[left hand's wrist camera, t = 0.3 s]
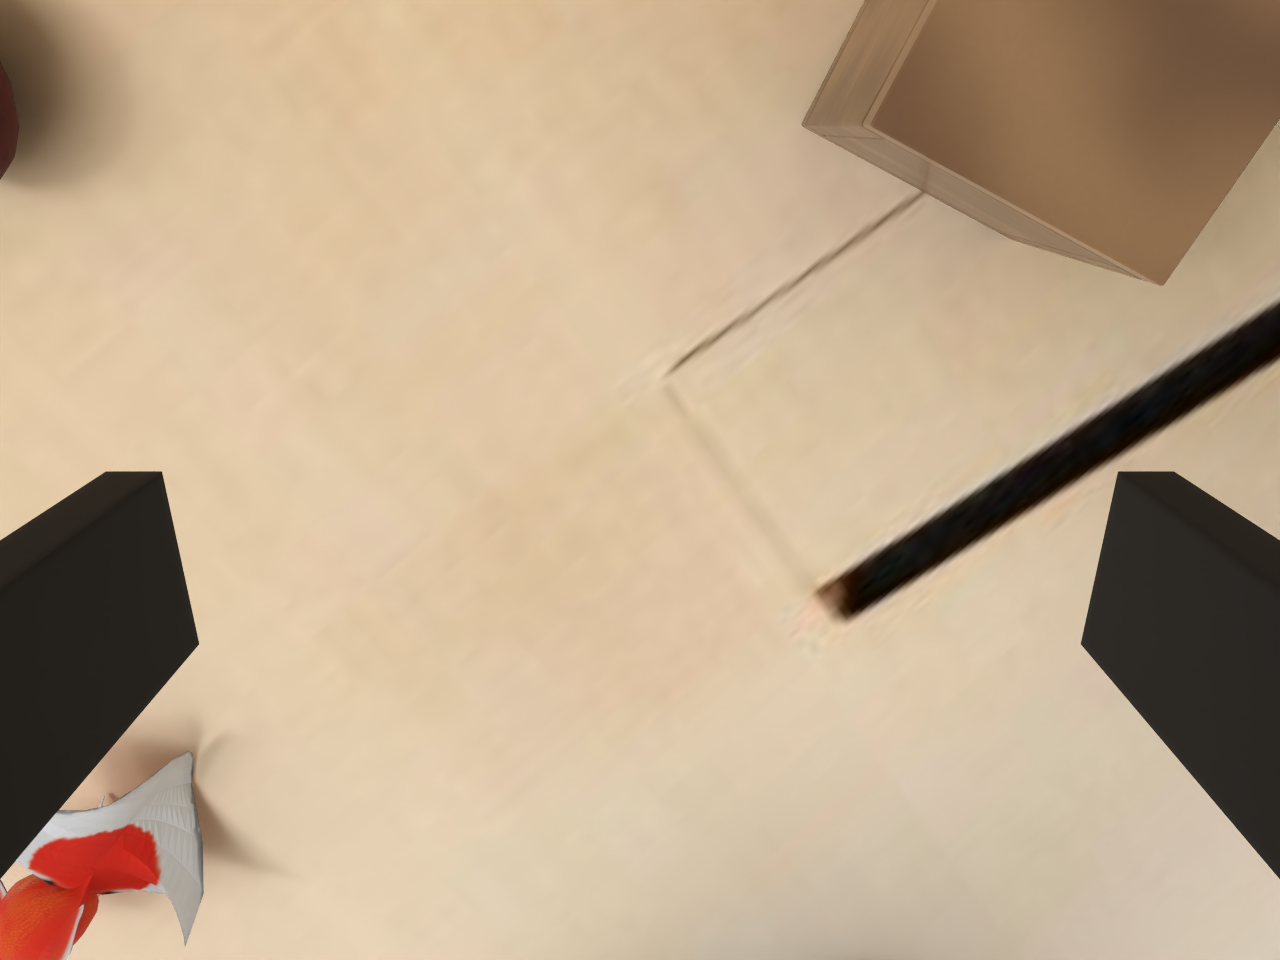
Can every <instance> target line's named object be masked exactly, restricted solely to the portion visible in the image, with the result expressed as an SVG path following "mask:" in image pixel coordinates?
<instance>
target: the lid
mask: <svg viewBox="0 0 1280 960" xmlns="http://www.w3.org/2000/svg"><path fill="white" fill-rule="evenodd" d="M1279 119H1280V0H929V1H928V3H927V5H926V7H925V9H924V11H923V12H922V14H921V16H920V18H919V20H918V22H917V24H916V25H915V27H914V29H913V31H912V33H911V35H910V37H909V38H908V40H907V42H906V44H905V46H904V48H903V50H902V52H901V53H900V55H899V57H898V59H897V61H896V63H895V65H894V66H893V68H892V70H891V72H890V74H889V76H888V78H887V79H886V81H885V83H884V85H883V87H882V89H881V91H880V92H879V94H878V96H877V98H876V100H875V102H874V104H873V105H872V107H871V109H870V111H869V113H868V115H867V117H866V118H865V120H864V122H863V126H864V127H865V128H867V129H869V130H870V131H872V132H874V133H876V134H878V135H880V136H881V137H883V138H885V139H887V140H889V141H890V142H892V143H894V144H896V145H898V146H900V147H901V148H903V149H905V150H907V151H909V152H911V153H912V154H914V155H916V156H918V157H920V158H922V159H923V160H925V161H927V162H929V163H931V164H932V165H934V166H936V167H938V168H940V169H942V170H943V171H945V172H947V173H949V174H951V175H953V176H954V177H956V178H958V179H960V180H962V181H963V182H965V183H967V184H969V185H971V186H973V187H974V188H976V189H978V190H980V191H982V192H984V193H985V194H987V195H989V196H991V197H993V198H995V199H996V200H998V201H1000V202H1002V203H1004V204H1005V205H1007V206H1009V207H1011V208H1013V209H1015V210H1016V211H1018V212H1020V213H1022V214H1024V215H1026V216H1027V217H1029V218H1031V219H1033V220H1035V221H1036V222H1038V223H1040V224H1042V225H1044V226H1046V227H1047V228H1049V229H1051V230H1053V231H1055V232H1057V233H1058V234H1060V235H1062V236H1064V237H1066V238H1068V239H1069V240H1071V241H1073V242H1075V243H1077V244H1078V245H1080V246H1082V247H1084V248H1086V249H1088V250H1089V251H1091V252H1093V253H1095V254H1097V255H1099V256H1100V257H1102V258H1104V259H1106V260H1108V261H1109V262H1111V263H1113V264H1115V265H1117V266H1119V267H1120V268H1122V269H1124V270H1126V271H1128V272H1130V273H1131V274H1133V275H1135V276H1137V277H1139V278H1141V279H1142V280H1144V281H1147V282H1151V283H1154V284H1157V285H1164V284H1165V282H1166V281H1167V279H1168V278H1169V277H1170V275H1171V274H1172V272H1173V271H1174V269H1175V268H1176V266H1177V265H1178V264H1179V262H1180V261H1181V259H1182V258H1183V256H1184V255H1185V254H1186V252H1187V251H1188V249H1189V248H1190V246H1191V245H1192V244H1193V242H1194V241H1195V239H1196V238H1197V236H1198V235H1199V234H1200V232H1201V231H1202V229H1203V228H1204V226H1205V225H1206V224H1207V222H1208V221H1209V219H1210V218H1211V216H1212V215H1213V214H1214V212H1215V211H1216V209H1217V208H1218V206H1219V205H1220V203H1221V202H1222V201H1223V199H1224V198H1225V196H1226V195H1227V193H1228V192H1229V191H1230V189H1231V188H1232V186H1233V185H1234V183H1235V182H1236V181H1237V179H1238V178H1239V176H1240V175H1241V173H1242V172H1243V171H1244V169H1245V168H1246V166H1247V165H1248V163H1249V162H1250V161H1251V159H1252V158H1253V156H1254V155H1255V153H1256V152H1257V151H1258V149H1259V148H1260V146H1261V145H1262V143H1263V142H1264V140H1265V139H1266V138H1267V136H1268V135H1269V133H1270V132H1271V130H1272V129H1273V128H1274V126H1275V125H1276V123H1277V122H1278V120H1279Z"/></svg>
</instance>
